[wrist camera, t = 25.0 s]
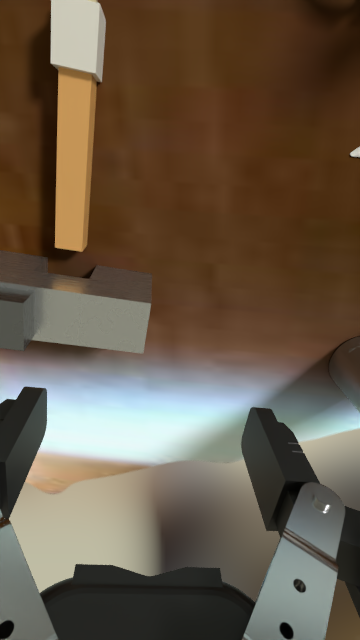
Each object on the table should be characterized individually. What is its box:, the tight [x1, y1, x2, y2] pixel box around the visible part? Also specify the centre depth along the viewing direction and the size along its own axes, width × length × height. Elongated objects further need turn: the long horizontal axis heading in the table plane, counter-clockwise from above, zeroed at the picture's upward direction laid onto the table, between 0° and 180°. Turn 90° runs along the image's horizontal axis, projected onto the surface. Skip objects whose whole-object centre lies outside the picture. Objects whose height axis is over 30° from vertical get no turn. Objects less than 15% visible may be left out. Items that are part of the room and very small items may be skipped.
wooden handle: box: [51, 0, 106, 252], centre depth 34 cm, size 23×4×4 cm, turn 170°
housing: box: [0, 250, 152, 353], centre depth 37 cm, size 6×20×13 cm, turn 80°
